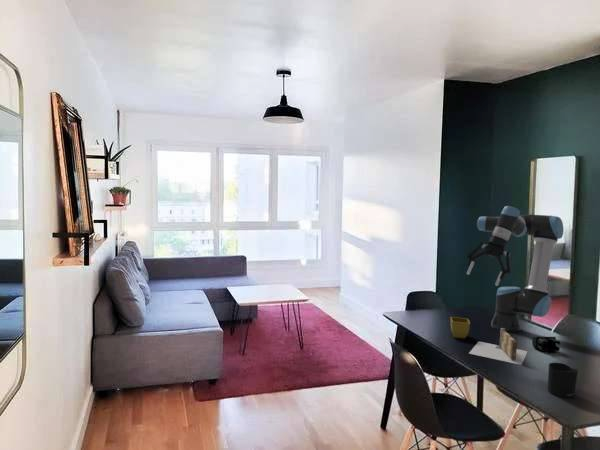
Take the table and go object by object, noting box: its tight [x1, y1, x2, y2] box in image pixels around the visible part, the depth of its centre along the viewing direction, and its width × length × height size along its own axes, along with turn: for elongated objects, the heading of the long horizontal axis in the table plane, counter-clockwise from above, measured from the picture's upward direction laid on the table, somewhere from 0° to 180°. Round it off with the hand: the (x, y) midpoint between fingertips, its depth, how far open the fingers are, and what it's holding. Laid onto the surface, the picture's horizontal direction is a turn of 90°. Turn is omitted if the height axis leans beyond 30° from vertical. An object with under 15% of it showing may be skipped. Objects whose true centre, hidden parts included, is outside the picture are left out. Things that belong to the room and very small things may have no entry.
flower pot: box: [449, 316, 471, 339], centre depth 239 cm, size 9×9×9 cm
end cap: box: [531, 336, 561, 355], centre depth 224 cm, size 10×7×7 cm
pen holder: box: [547, 362, 579, 399], centre depth 175 cm, size 9×9×10 cm
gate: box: [499, 328, 518, 360], centre depth 215 cm, size 19×2×9 cm, turn 173°
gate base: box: [468, 341, 528, 365], centre depth 217 cm, size 22×22×1 cm
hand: (481, 279), depth 218 cm, fingers open, 13 cm apart
